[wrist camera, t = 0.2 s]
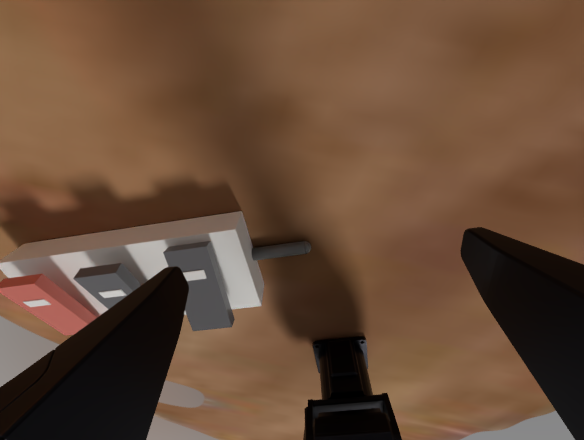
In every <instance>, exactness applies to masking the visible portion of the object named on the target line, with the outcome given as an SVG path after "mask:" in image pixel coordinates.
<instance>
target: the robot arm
mask: <svg viewBox="0 0 584 440" xmlns="http://www.w3.org/2000/svg"><path fill="white" fill-rule="evenodd" d="M461 257H462V260H463V262H464V264H465V266H466V267H467V269H468V271H469V273H470V275H471V277H472V279H473V281H474V283H475V285H476V287H477V289H478V291H479V293H480V295H481V297H482V298H483V300H484V302H485V304H486V305H487V307H488V308H489V310H490V312H491V313H492V315H493V316H494V318H495V319H496V321H497V322H498V324H499V325H500V327H501V328H502V330H503V331H504V333H505V334H506V336H507V337H508V339H509V340H510V342H511V343H512V345H513V346H514V348H515V349H516V351H517V352H518V354H519V355H520V357H521V358H522V360H523V361H524V363H525V364H526V366H527V367H528V369H529V370H530V372H531V373H532V375H533V376H534V378H535V380H536V381H537V383H538V384H539V386H540V387H541V389H542V390H543V392H544V393H545V395H546V396H547V398H548V399H549V401H550V402H551V404H552V405H553V407H554V408H555V410H556V411H557V413H558V414H559V416H560V417H561V419H562V420H563V422H564V423H565V425H566V426H567V428H568V429H569V431H570V432H571V434H572V435H573V437H574V438H575V440H584V265H583V264H580V263H578V262H575V261H572V260H569V259H567V258H564V257H561V256H559V255H556V254H553V253H550V252H548V251H545V250H542V249H540V248H537V247H534V246H531V245H529V244H526V243H523V242H520V241H518V240H515V239H512V238H510V237H507V236H504V235H501V234H499V233H496V232H493V231H491V230H488V229H485V228H482V227H477V228H469V229H466V230H465V232H464V235H463V240H462V246H461ZM188 293H189V285H188V282H187V280H186V278H185V276H184V274H183V272H182V270H181V269H180V267H178V266H173V267H166V268H164V269H163V270H162V271H160V272H159V273H157V274H156V275H155V276H153V277H152V278H151V279H149V280H148V281H147V282H145V283H144V284H142V285H141V286H140V287H138V288H137V289H136V290H134V291H133V292H131V293H130V294H129V295H127V296H126V297H125V298H123V299H122V300H121V301H119V302H118V303H116V304H115V305H114V306H112V307H111V308H110V309H108V310H107V311H105V312H104V313H103V314H101V315H100V316H99V317H97V318H96V319H95V320H93V321H92V322H90V323H89V324H88V325H86V326H85V327H84V328H82V329H81V330H79V331H78V332H77V333H75V334H74V335H73V336H71V337H70V338H69V339H67V340H66V341H64V342H63V343H62V344H60V345H59V346H58V347H57V348H56V349H55V350H52V351H51V352H49V353H48V354H47V355H45V356H44V357H42V358H41V359H40V360H38V361H37V362H36V363H34V364H33V365H31V366H30V367H29V368H27V369H26V370H24V371H23V372H22V373H20V374H19V375H17V376H16V377H15V378H13V379H12V380H10V381H9V382H7V383H6V384H4V385H3V386H1V387H0V440H146V438H147V435H148V432H149V429H150V425H151V422H152V419H153V416H154V413H155V410H156V407H157V404H158V400H159V397H160V394H161V391H162V388H163V385H164V382H165V379H166V376H167V373H168V369H169V366H170V363H171V360H172V357H173V354H174V351H175V348H176V345H177V341H178V338H179V335H180V331H181V327H182V322H183V317H184V312H185V308H186V303H187V298H188ZM313 349H314V353H315V358H316V362H317V367H318V372H319V373H320V379H321V392H322V400H313V399H311V400H308V407H306V408H305V430H304V439H303V440H402V439H401V435H400V432H399V428H398V425H397V422H396V419H395V416H394V413H393V410H392V407H391V404H390V400H389V397H388V394H387V393H382V394H381V395H373V393H372V388H371V384H370V380H369V375H368V371H367V369H368V361H367V342H366V338H365V337H353V338H343V339H333V340H323V341H315V342H313Z"/></svg>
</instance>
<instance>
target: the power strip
mask: <svg viewBox="0 0 584 440" xmlns="http://www.w3.org/2000/svg"><path fill="white" fill-rule="evenodd" d="M206 241H211V244H212V247H213V250H214V253H215V257H216V260H217V263H218V267H219V270H220V273H221V276H222V280H223V283H224V286H225V290H226V293H227V296H228V299H229V303H230V306H231V309H239V308H248V307H257V306H261V305H262V298H263V290H264V281H263V278H262V274H261V271H260V268H259V265H258V261H257V260H262V259H270V258H278V257H285V256H293V255H301V254H307V253H309V252H310V250H311V245H310V243H309V242H307V241H302V242H294V243H287V244H279V245H272V246H265V247H257V248H253V245H252V242H251V239H250V236H249V232H248V229H247V226H246V223H245V219H244V216H243V213H242V211H239V212H232V213H225V214H218V215H212V216H205V217H198V218H192V219H185V220H178V221H172V222H165V223H158V224H152V225H145V226H138V227H131V228H125V229H118V230H111V231H105V232H98V233H91V234H85V235H78V236H71V237H65V238H58V239H51V240H45V241H38V242H31V243H24V244H23V245H21V246H20V247H18V248H17V249H16V250H14V251H13V252H11V253H10V254H8V255H7V256H5V257H4V258H3V259H1V260H0V269H1V270H2V271H3V272H4V274H5V275H6V276H7V277H8V278H14V277H21V276H28V275H36V274H44V275H45V276H46V277H48V278H49V279H50V280H51V281H53V282H54V283H55V284H56V285H58V286H59V287H60V288H61V289H63V290H64V291H65V292H66V293H68V294H69V295H70V296H71V297H73V298H74V299H75V300H76V301H78V302H79V303H80V304H81V305H83V306H84V307H85V308H86V309H87V310H89V311H90V312H91V313H92V314H94V315H95V316H96V317H99V316H100V315H101V314H103V313H104V312H105V311H107V310H108V308H106V307H105V306H104V305H103V304H102V303H101V302H99V301H98V300H97V299H96V298H95V297H94V296H93V295H91V294H90V293H89V292H88V291H87V290H86V289H84V288H83V287H82V286H81V285H80V284H79V283H78V282H76V281H75V280H74V279H73V278H74V277H75V275H76V274H77V272H78V271H79V270H80V268H87V267H95V266H102V265H109V264H117V263H122V264H123V265H124V266H125V267H126V268H127V269H128V270H129V272H130V273H131V274H132V275H133V276H134V277H135V278H136V279H137V280H138V282H139V283H140V284H141V285H142V284H144V283H145V282H147V281H148V280H149V279H151V278H152V277H153V276H155V275H156V274H157V273H159V272H160V271H162V270H163V269H164V268H166V267H168V264H167V262H166V259H165V256H164V254H163V252H164V251H165V250H166V249H167V248H168V247H170V246H177V245H184V244H191V243H199V242H206ZM184 315H186V311H185V312H184Z"/></svg>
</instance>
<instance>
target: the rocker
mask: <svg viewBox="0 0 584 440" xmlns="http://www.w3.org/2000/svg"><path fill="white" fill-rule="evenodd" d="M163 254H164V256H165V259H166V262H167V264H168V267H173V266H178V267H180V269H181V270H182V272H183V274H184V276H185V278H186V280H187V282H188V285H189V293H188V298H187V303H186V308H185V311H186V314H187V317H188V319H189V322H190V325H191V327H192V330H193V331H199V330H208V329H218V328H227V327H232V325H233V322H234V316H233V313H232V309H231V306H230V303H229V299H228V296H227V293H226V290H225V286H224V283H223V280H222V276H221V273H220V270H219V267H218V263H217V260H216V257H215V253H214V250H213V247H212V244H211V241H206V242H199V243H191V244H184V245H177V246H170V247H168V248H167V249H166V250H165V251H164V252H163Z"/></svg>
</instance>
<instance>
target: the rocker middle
mask: <svg viewBox="0 0 584 440" xmlns="http://www.w3.org/2000/svg"><path fill="white" fill-rule="evenodd" d="M73 279H74V280H75V281H76V282H78V283H79V284H80V285H81V286H82V287H83V288H84V289H86V290H87V291H88V292H89V293H90V294H91V295H93V296H94V297H95V298H96V299H97V300H98V301H99V302H101V303H102V304H103V305H104V306H105V307H106V308H108V309H110V308H111V307H112V306H114V305H115V304H116V303H118V302H119V301H121V300H122V299H123V298H125V297H126V296H127V295H129V294H130V293H131V292H133V291H134V290H136V289H137V288H138V287H140V286H141V284H140V283H139V282H138V280H137V279H136V278H135V277H134V276H133V275H132V274H131V273H130V272H129V270H128V269H127V268H126V267H125V266H124V265H123V264H122V263H117V264H109V265H102V266H95V267H87V268H80V270H79V271H78V272H77V274H76V275H75V277H74V278H73Z"/></svg>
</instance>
